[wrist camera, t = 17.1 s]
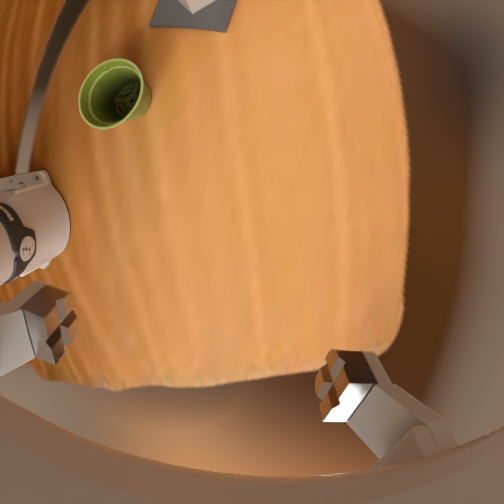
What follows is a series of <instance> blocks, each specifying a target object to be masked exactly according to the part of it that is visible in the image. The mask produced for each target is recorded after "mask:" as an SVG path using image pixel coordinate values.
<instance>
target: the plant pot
mask: <svg viewBox="0 0 504 504" xmlns="http://www.w3.org/2000/svg"><path fill="white" fill-rule="evenodd" d="M128 87H130V89H128V90H126V91H125V92H124V93H123V91H124V90H125V89H126V88H128ZM151 98H152V95H151V91H150V89H149V88H148V86H147V85H146V84H145V83H144V80H143V75H142V73H141V71H140V69H139V68H138V67H137V66H136V65H135V64H134V63H133V62H131V61H129V60H126V59H122V58H115V59H110V60H107V61H105V62H103V63H101V64H99V65H98V66H96V67H95V68H94V69H93V70H92V71H91V72H90V73H89V74H88V75H87V77H86V79H85V80H84V82H83V84H82V86H81V89H80V92H79V97H78V106H79V111H80V114H81V116H82V118H83V119H84V121H85V122H86V123H87V124H88V125H90V126H91V127H94V128H97V129H110V128H113V127H116V126H118V125H120V124H122V123H123V122H124V121H129V120H134V119H137V118H139V117H141V116H142V115H144V114H145V113H146V111H147V110H148V109H149V106H150V103H151ZM131 99H133V100H134V101H133V102H131ZM119 106H120V107H121V109H122V111H123V113H121V111H120V110H119Z"/></svg>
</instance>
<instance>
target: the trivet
mask: <svg viewBox="0 0 504 504" xmlns="http://www.w3.org/2000/svg"><path fill="white" fill-rule="evenodd" d="M236 2H237V0H216V1H214V2H212V3H210V4H209V5H207V6H205V7H203V8H202V9H200V10H198V11H197V12H195V13H194V14H192V13H191V12H190V11H189V10H188V9H186V8H185V7H184V6H183V5H182V4H181V3H180V2H179V1H178V0H159V3H158V5H157V7H156V10H155V12H154V14H153V17H152V19H151V22H150V25H149V26H150V27H171V28H188V29H199V30H209V31H217V32H224V33H226V31H227V28H228V25H229V22H230V19H231V16H232V13H233V10H234V8H235V5H236Z"/></svg>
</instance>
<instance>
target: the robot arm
mask: <svg viewBox="0 0 504 504" xmlns="http://www.w3.org/2000/svg"><path fill="white" fill-rule="evenodd" d="M38 178H39V179H38ZM69 234H70V220H69V215H68V211H67V208H66V205H65V203H64V201H63V199H62V197H61V195H60V194H59V193H58V192H57V190H56V189H55V188H54V187H53V185H52V183H51V180H50V177H49V175H48V173H47V171H45V170H40V171H34V172H28V173H23V174H17V175H12V176H7V177H3V178H0V286H1V285H2V284H6V283H9V282H10V281H12V280H15V279H16V278H17V277H18V276H19V275H20V276H24V275H26V274H28V273H30V272H32V271H33V270H35V269H37V268H41V269H44V268H46V267H48V265H49V264H50V262H51V260H52V259H53V258H54V257H56V256H58V255H60V254H61V253H62V252H63V250H64V249H65V247H66V245H67V243H68V240H69ZM75 306H76V302H75V296H74V295H73V294H72V293H70V292H67V291H65V290H62V289H59V288H57V287H54V286H52V285H48V284H46V283H43V282H41V281H34V282H33V283H31V284H30V285H29V286H28V287H26V288H25V289H24V290H23V291H22V292H20V293H19V294H18V295H17V296H16V297H15V298H13V299H12V300H11V301H10V302H9V303H8V302H6V301H5V302H1V303H0V376H2V375H4V374H6V373H8V372H10V371H11V370H13V369H15V368H17V367H19V366H21V365H23V364H25V363H26V362H28V361H30V360H32V359H34V358H35V357H37V358H40V359H42V360H44V361H46V362H49V363H51V364H54V365H56V364H57V363H58V361H59V360H60V358H61V357H62V356H63V354H64V353H65V350H64V346H66V345H69V344H71V343H72V341H73V340H74V338H75V336H76V333H77V330H78V319H77V316H76V314H75V313H74V311H73V309H74V307H75ZM325 359H326V362H327V364H326V365H324V366H323V367H321V368H320V370H319V372H318V374H317V376H316V381H315V390H316V394H317V396H318V397H319V398H320V399H321V400H322V402H321V404H320V406H319V407H320V410H321V414H322V418H323V421H324V422H327V421H328V422H347V424H348V425H349V426H350V427H351V428H352V429H353V430H354V431H355V433H356V434H357V435H358V436H359V437H360V438H361V439H362V440H363V441H364V442H365V444H366V445H367V446H368V447H369V448H370V449H371V450H372V451H373V452H374V453H375V454H376V455H377V456H378V458H379V459H380V460H378V461H377V462H376V463H375V464H374V465H373V466H371V468H370V469H369V470H363V471H355V472H349V473H339V474H329V475H316V476H254V475H240V474H229V473H220V472H212V471H205V470H199V469H193V468H187V467H182V466H177V465H172V464H167V463H163V462H159V461H155V460H151V459H147V458H143V457H140V456H136V455H132V454H129V453H126V452H123V451H120V450H117V449H113V448H111V447H108V446H105V445H102V444H100V443H97V442H94V441H92V440H89V439H87V438H84V437H82V436H79V435H77V434H75V433H72V432H70V431H68V430H66V429H64V428H62V427H59V426H57V425H55V424H53V423H51V422H49V421H47V420H45V419H43V418H41V417H40V416H38V415H36V414H34V413H32V412H30V411H29V410H27V409H25V408H23V407H22V406H20V405H18V404H17V403H15V402H13V401H12V400H10V399H9V398H7V397H6V396H4V395H3V394H1V393H0V504H504V426H502V427H500V428H499V429H496V430H494V431H492V432H490V433H488V434H486V435H484V436H481V437H479V438H476V439H474V440H472V441H469V442H467V443H464V444H462V445H459V444H458V443H457V441H456V439H455V437H454V435H453V434H452V432H451V430H450V428H449V426H448V424H447V422H446V421H445V419H444V418H442V417H440V416H439V415H438V414H437V413H435V412H434V411H432V410H431V409H430V408H428V407H427V406H425V405H424V404H423V403H421V402H420V401H418V400H417V399H415V398H414V397H413V396H411V395H410V394H409V393H407V392H406V391H404V390H403V389H402V388H400V387H399V386H398V385H396V384H392V383H391V382H390V379H389V377H388V376H387V374H386V372H385V370H384V368H383V366H382V365H381V363H380V361H379V359H378V357H377V355H376V354H375V353H374V352H372V351H349V350H338V349H331V350H330V351H329V352H328V354H327V356H326V358H325Z"/></svg>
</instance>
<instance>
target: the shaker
mask: <svg viewBox="0 0 504 504" xmlns="http://www.w3.org/2000/svg"><path fill="white" fill-rule="evenodd" d="M178 1H179V2H180V3H181V4H182V5H183V6H184V7H185V8H186V9H188V10H189V11H190V12H191V13H192V14H194V13H195V12H197V11H198V10H200V9H202V8H203V7H205V6H207V5H209V4H210V3H212V2H214V1H216V0H178Z"/></svg>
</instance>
